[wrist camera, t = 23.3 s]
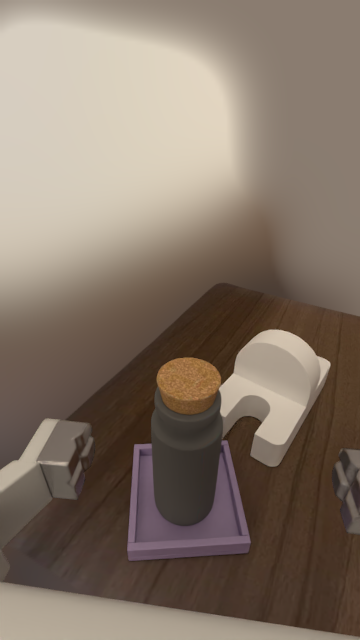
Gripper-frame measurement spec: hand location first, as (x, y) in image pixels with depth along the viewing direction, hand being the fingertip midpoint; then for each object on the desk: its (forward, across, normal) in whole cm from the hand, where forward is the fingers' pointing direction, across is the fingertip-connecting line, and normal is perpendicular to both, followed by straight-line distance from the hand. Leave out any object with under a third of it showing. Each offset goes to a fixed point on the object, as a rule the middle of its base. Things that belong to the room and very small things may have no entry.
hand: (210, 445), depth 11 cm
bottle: (+10, +2, +22) cm, 24 cm away
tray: (+11, +2, +22) cm, 25 cm away
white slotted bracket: (+25, -8, +23) cm, 35 cm away
